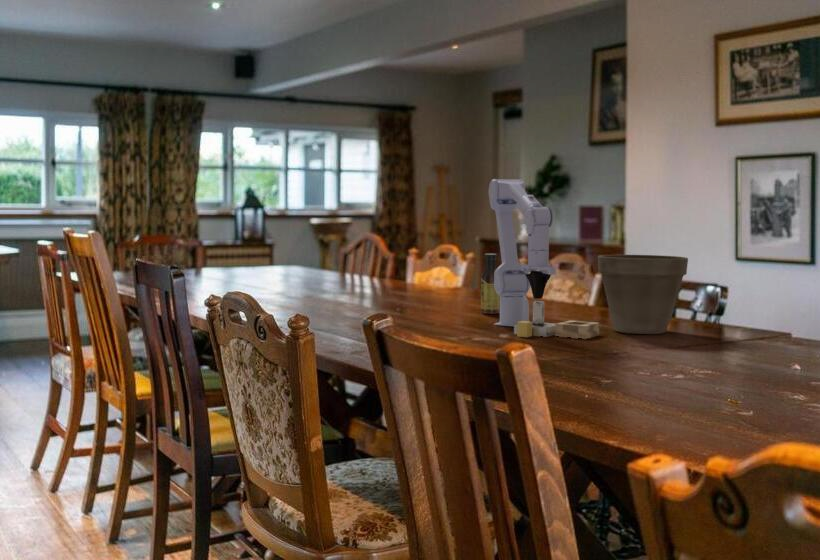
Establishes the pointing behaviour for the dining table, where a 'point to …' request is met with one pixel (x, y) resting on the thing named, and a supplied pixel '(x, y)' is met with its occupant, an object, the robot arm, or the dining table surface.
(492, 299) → the sauce bottle
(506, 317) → the robot arm
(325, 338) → the dining table surface
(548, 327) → the socket block
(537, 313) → the drill peg
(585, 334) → the rack
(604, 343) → the dining table surface
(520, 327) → the yellow block
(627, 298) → the plant pot
